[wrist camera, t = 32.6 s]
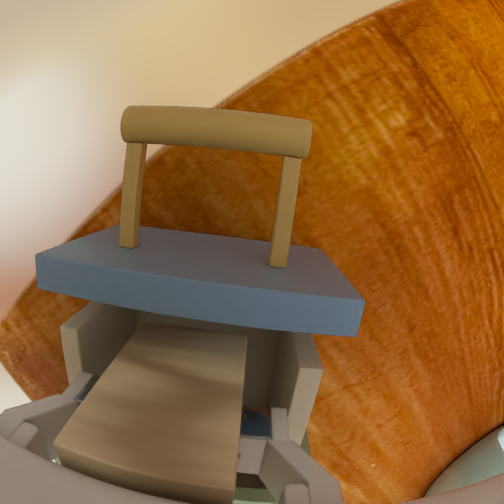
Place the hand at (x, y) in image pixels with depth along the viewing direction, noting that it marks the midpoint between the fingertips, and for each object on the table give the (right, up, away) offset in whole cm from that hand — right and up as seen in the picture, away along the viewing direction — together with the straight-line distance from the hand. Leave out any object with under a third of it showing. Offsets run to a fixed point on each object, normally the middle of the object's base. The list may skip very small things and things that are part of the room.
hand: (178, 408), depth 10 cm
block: (0, 0, +3) cm, 3 cm away
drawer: (0, +3, +7) cm, 7 cm away
